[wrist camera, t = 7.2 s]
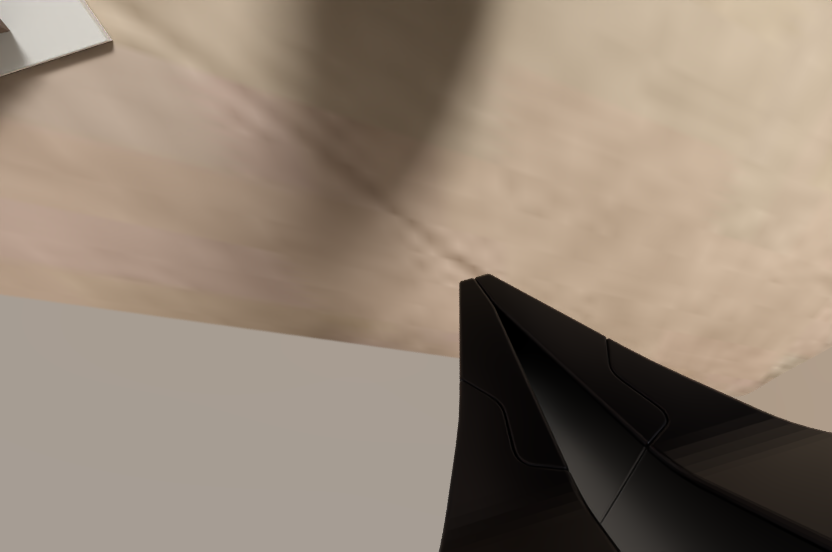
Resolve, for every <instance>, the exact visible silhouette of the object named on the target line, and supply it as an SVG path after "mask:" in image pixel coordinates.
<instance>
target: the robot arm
mask: <svg viewBox="0 0 832 552" xmlns="http://www.w3.org/2000/svg"><path fill="white" fill-rule="evenodd" d="M459 323H460V400H459V401H460V402H459V422H458V431H457V440H456V448H455V455H454V462H453V469H452V476H451V483H450V490H449V497H448V503H447V510H446V517H445V523H444V529H443V534H442V539H441V545H440V549H439V552H832V433H831V432H826V431H822V430H817V429H814V428H810V427H806V426H803V425H800V424H796V423H793V422H790V421H787V420H784V419H782V418H779V417H776V416H774V415H771V414H769V413H767V412H764V411H762V410H760V409H757V408H755V407H753V406H751V405H748V404H746V403H744V402H742V401H739V400H737V399H735V398H733V397H731V396H728V395H726V394H724V393H722V392H719V391H717V390H715V389H713V388H710V387H708V386H706V385H704V384H701V383H699V382H697V381H695V380H693V379H690V378H688V377H686V376H684V375H681V374H679V373H677V372H675V371H673V370H671V369H669V368H666V367H664V366H662V365H660V364H658V363H656V362H654V361H651V360H650V359H648V358H646V357H644V356H642V355H640V354H638V353H636V352H634V351H632V350H630V349H628V348H626V347H624V346H622V345H621V344H619V343H617V342H615V341H613V340H611V339H609V338H608V339H607V340H606V337H605V336H604V335H602V334H600V333H598V332H596V331H594V330H593V329H591V328H589V327H587V326H585V325H583V324H581V323H580V322H578V321H576V320H574V319H572V318H570V317H569V316H567V315H565V314H563V313H561V312H559V311H557V310H556V309H554V308H552V307H550V306H548V305H546V304H544V303H543V302H541V301H539V300H537V299H535V298H533V297H532V296H530V295H528V294H526V293H524V292H522V291H520V290H519V289H517V288H515V287H513V286H511V285H509V284H507V283H506V282H504V281H502V280H500V279H498V278H496V277H495V276H493V275H491V274H485V275H482V276H478V277H476V278H475V279H473V278H471V279H467V280H464V281H461V282H460V283H459Z"/></svg>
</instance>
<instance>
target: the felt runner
mask: <svg viewBox="0 0 832 552" xmlns="http://www.w3.org/2000/svg"><path fill="white" fill-rule="evenodd" d="M0 19H1V20H2V21H3V23H4V24H5V25H6V26H7V27H8V29H9V30H10V31H8V32H4V33H0V77H1V76H4V75H7V74H10V73H13V72H16V71H19V70H23V69H26V68H29V67H32V66H35V65H38V64H41V63H44V62H47V61H50V60H54V59H57V58H60V57H63V56H66V55H69V54H72V53H75V52H78V51H82V50H85V49H88V48H91V47H94V46H97V45H100V44H103V43H106V42H109V41H113V40H112V39H111V38H110V36H109V35H108V33H107V32H106V30H105V29H104V27H103V26H102V25H101V23H100V22H99V20H98V19H97V17H96V16H95V14H94V13H93V12H92V10H91V9H90V7H89V6H88V4H87V3H86V1H85V0H0Z"/></svg>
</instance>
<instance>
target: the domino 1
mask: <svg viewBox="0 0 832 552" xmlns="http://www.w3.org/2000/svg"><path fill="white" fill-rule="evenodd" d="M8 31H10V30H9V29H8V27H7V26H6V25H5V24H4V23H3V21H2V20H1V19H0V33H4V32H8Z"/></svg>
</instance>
